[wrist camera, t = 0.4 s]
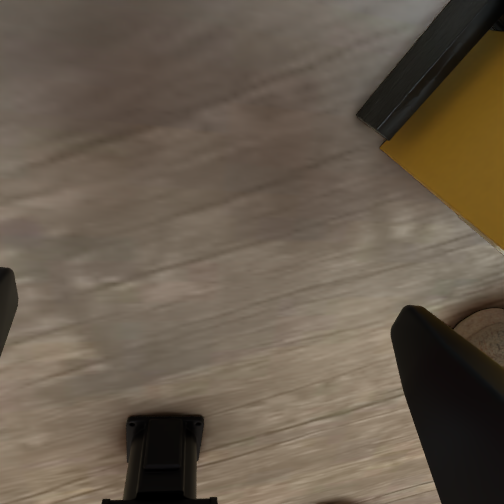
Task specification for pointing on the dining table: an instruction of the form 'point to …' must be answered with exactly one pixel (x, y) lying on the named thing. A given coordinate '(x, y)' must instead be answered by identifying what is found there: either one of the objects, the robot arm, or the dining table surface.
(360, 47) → the dining table surface
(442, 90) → the storage box
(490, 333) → the pottery
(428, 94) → the rack
